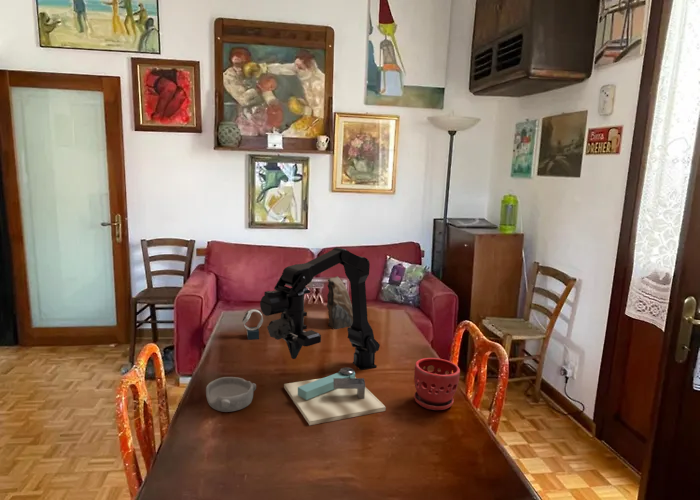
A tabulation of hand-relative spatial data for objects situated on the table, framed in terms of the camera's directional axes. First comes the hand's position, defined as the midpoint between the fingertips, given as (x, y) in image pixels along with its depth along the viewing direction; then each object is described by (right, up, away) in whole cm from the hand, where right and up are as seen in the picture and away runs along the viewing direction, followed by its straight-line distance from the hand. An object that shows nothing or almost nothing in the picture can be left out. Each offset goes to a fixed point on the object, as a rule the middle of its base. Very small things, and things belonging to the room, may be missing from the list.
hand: (293, 358), depth 153 cm
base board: (+12, -12, -2) cm, 17 cm away
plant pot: (+42, -13, -3) cm, 44 cm away
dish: (-18, -12, -5) cm, 22 cm away
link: (+10, -9, +2) cm, 14 cm away
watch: (-21, -2, +47) cm, 51 cm away
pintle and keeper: (+16, -10, +2) cm, 19 cm away
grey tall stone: (+13, 0, +65) cm, 66 cm away
